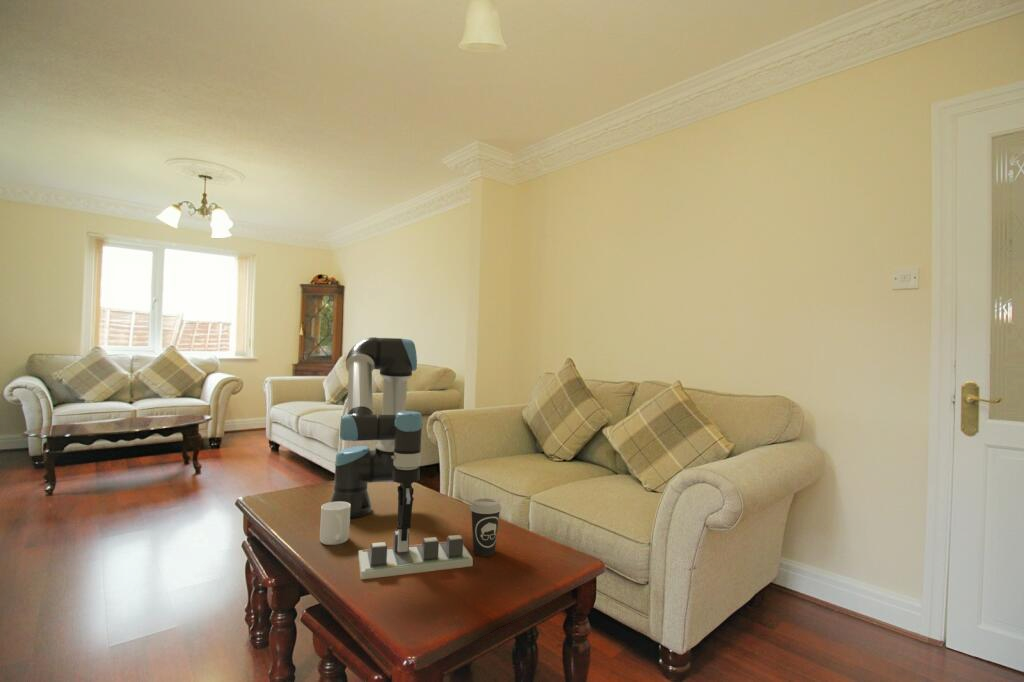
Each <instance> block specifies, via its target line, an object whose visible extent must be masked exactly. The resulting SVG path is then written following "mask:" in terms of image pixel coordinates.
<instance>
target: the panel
mask: <svg viewBox="0 0 1024 682" xmlns="http://www.w3.org/2000/svg"><path fill="white" fill-rule="evenodd" d="M446 547H447V540H446V541H439V549H438V558H433V559H423V557H422V543H420V544H419V543H418V544H417V543H416V544H409V550H408V551H406V552H398V551H396V552H394V548H393V546H389V547H388V546H387V562H386V564H379V565H371V563H370V552H371V548H367V549H361V550H358V555H357V556H358V557H357V558H358V566H359V575H360V580H369V579H376V578H384V577H393V576H402V575H410V574H418V573H419V574H420V573H427V572H435V571H442V570H443V571H444V570H453V569H459V568H460V569H461V568H466V567H467V568H469V567H473V566H474V564H473V562H474V561H473V560H474V559H473V557H472V555H471V554H470V552H469V551H468V549H467V548H466V547H465V545H464V544H463V555H459V556H451V557H449V556H448V555H447V553H446Z"/></svg>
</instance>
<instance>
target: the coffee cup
mask: <svg viewBox="0 0 1024 682" xmlns="http://www.w3.org/2000/svg"><path fill="white" fill-rule="evenodd" d="M469 510H470V511H471V525H472V527H471V528H472V529H471V530H472V531H471V533H472V552H473V554H474V555H475V556H479V557H490V556H493V555H494V554H495V552H496V544H497V536H498V527H499V521H500V513H501V511H502V506H501V504H500V501H499V500H498V499H496V498H495V499H494V498H490V497H480V498H476V499H474V500H473V501H472V503H471V505H470V507H469Z"/></svg>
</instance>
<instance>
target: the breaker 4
mask: <svg viewBox="0 0 1024 682" xmlns="http://www.w3.org/2000/svg"><path fill="white" fill-rule="evenodd" d="M446 541H447V547H446V553H447V555H448V556H449V557H451V556H459V555H463V545H464V538H463V536H462V535H461V534H456V535H455V534H454V535H448V536H446Z"/></svg>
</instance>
